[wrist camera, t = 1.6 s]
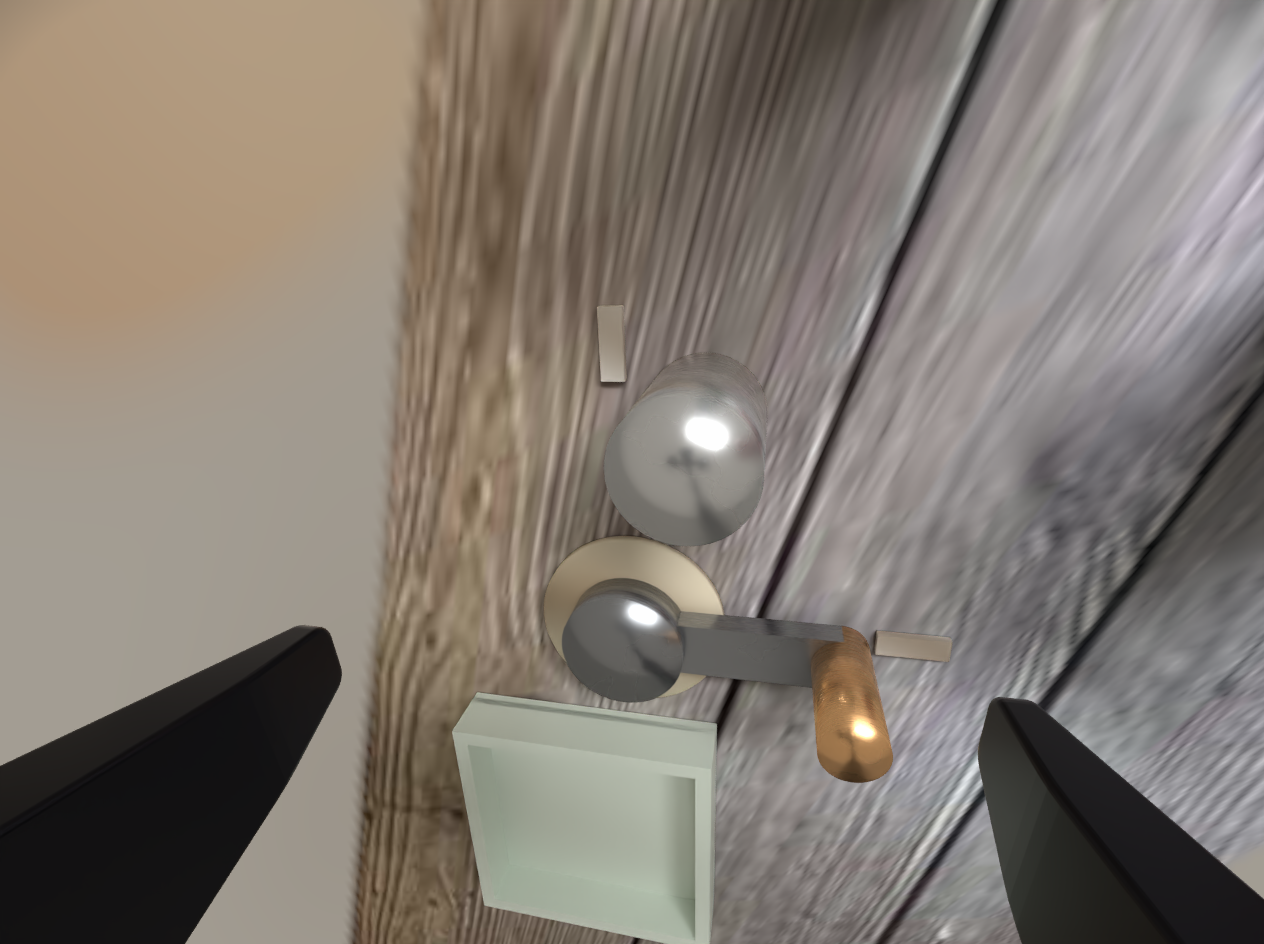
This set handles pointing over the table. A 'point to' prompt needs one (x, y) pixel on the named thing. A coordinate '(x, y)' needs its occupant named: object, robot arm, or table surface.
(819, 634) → the crank
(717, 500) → the pin
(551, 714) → the tray
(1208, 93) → the table surface
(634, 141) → the table surface
